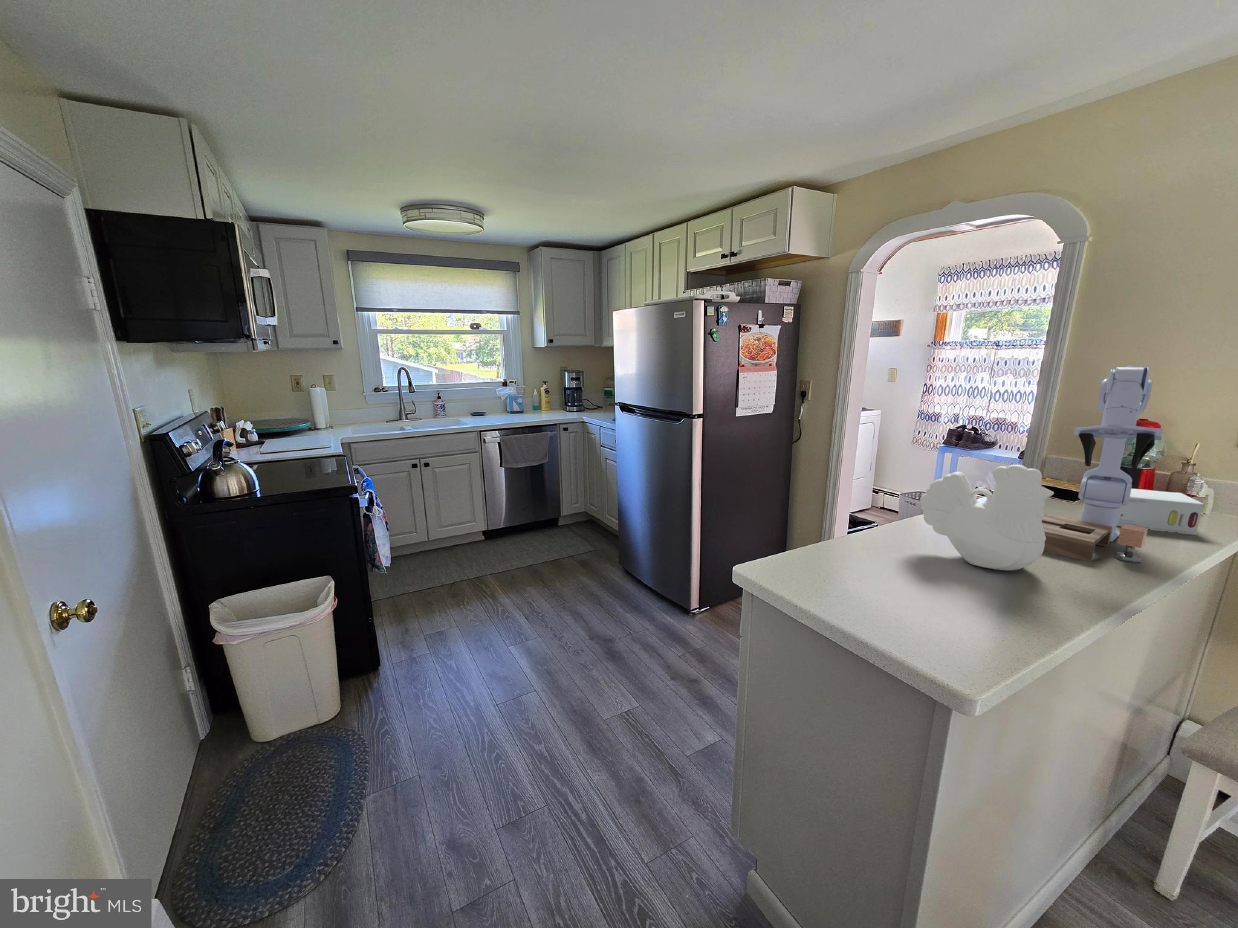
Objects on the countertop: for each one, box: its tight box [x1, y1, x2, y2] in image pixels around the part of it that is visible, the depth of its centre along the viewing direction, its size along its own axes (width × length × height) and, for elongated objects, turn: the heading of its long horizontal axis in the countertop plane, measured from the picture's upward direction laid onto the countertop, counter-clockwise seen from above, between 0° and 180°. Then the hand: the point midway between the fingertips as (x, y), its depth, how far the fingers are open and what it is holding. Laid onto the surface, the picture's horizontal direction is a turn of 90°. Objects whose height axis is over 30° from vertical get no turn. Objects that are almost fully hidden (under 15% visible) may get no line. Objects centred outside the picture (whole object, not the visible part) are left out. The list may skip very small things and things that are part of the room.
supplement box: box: [1117, 488, 1204, 536], centre depth 145 cm, size 17×13×9 cm
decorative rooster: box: [919, 464, 1055, 571], centre depth 119 cm, size 25×16×25 cm, turn 29°
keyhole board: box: [1042, 513, 1113, 562], centre depth 131 cm, size 18×16×5 cm
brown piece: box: [1114, 525, 1148, 564], centre depth 120 cm, size 4×4×8 cm
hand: (1110, 465), depth 114 cm, fingers open, 7 cm apart
